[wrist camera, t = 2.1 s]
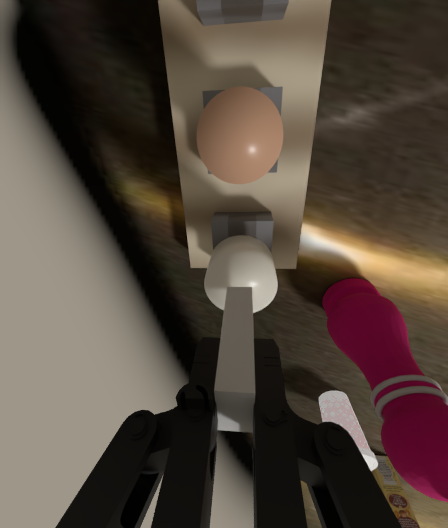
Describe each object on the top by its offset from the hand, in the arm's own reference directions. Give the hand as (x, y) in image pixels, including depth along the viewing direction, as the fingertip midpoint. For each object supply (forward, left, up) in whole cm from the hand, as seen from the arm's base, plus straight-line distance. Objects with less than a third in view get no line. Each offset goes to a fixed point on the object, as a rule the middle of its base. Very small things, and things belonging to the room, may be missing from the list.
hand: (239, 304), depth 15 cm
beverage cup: (+30, +15, -13) cm, 36 cm away
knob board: (-9, 0, -13) cm, 16 cm away
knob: (0, 0, -7) cm, 7 cm away
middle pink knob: (-9, 0, -7) cm, 12 cm away
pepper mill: (+9, +13, -13) cm, 21 cm away
